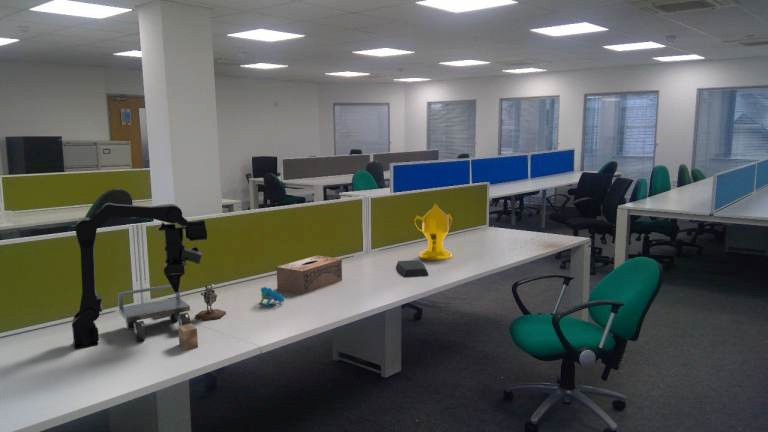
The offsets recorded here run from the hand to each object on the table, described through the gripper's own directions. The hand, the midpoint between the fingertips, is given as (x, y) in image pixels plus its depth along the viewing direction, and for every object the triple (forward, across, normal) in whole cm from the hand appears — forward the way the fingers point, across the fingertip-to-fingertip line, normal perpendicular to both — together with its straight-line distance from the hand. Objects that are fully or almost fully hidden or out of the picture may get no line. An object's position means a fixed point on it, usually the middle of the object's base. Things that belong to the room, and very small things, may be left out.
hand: (177, 288), depth 188 cm
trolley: (+14, +3, +7) cm, 16 cm away
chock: (+14, -16, -3) cm, 22 cm away
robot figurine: (+14, +12, -10) cm, 21 cm away
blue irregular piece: (+15, +19, -33) cm, 41 cm away
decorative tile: (+15, +22, +5) cm, 27 cm away
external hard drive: (+15, +49, -101) cm, 114 cm away
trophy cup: (+14, +76, -124) cm, 146 cm away
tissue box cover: (+15, +42, -52) cm, 68 cm away
